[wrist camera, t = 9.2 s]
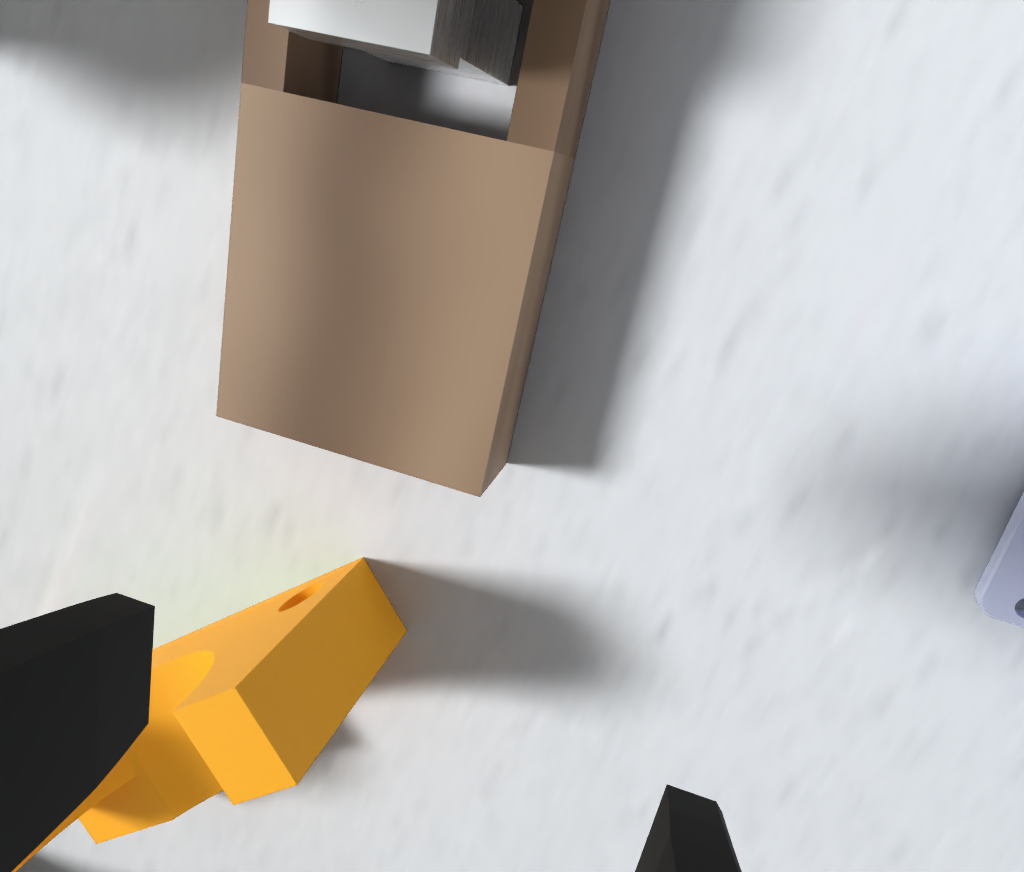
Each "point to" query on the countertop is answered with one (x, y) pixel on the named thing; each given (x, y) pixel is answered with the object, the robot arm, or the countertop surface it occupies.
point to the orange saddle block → (246, 702)
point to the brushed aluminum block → (414, 31)
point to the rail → (395, 254)
